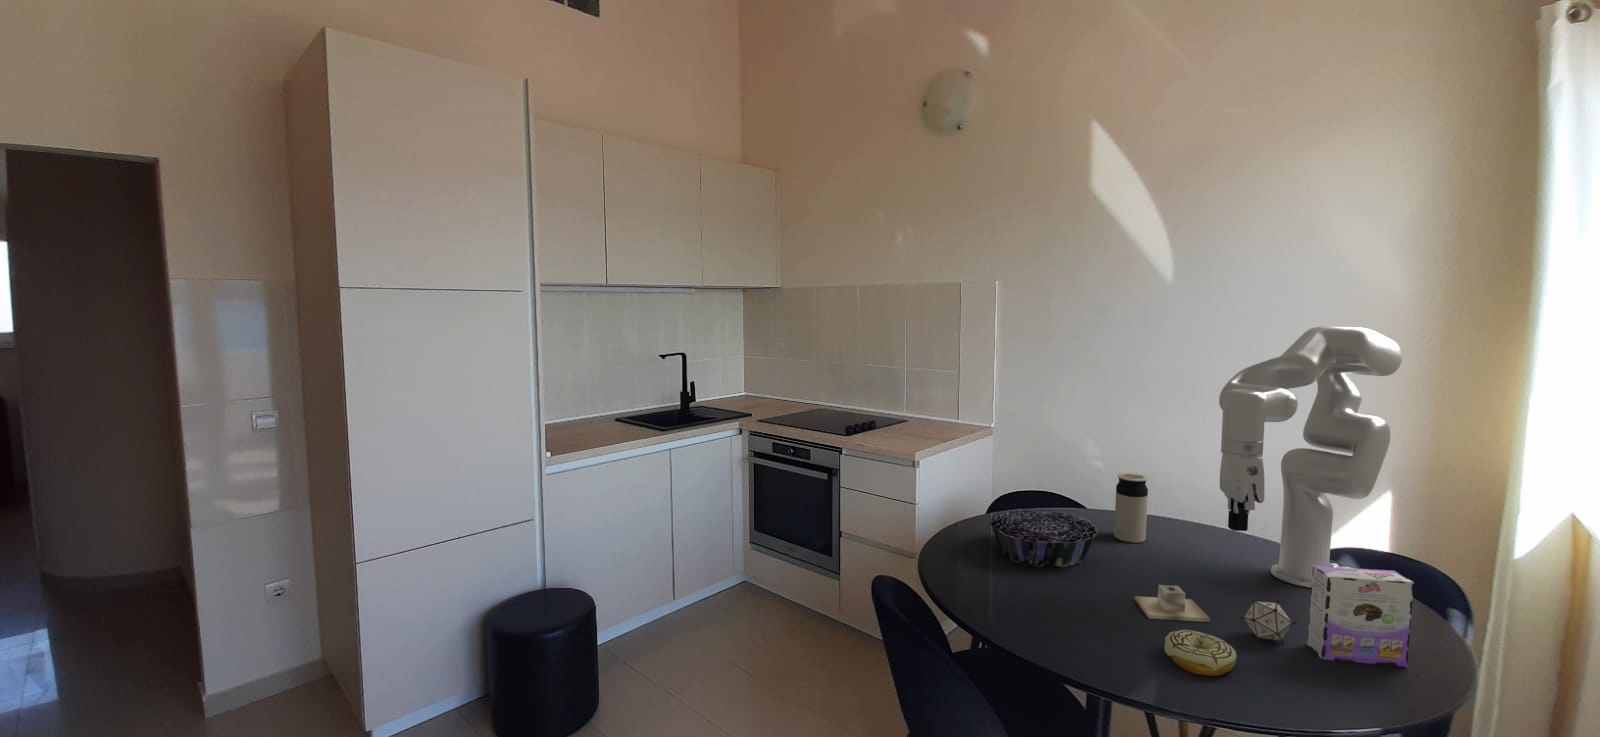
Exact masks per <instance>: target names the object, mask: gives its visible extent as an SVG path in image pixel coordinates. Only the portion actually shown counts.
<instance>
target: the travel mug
mask: <svg viewBox="0 0 1600 737" xmlns="http://www.w3.org/2000/svg"><path fill="white" fill-rule="evenodd" d="M1117 477H1118V483H1117V484H1116V485H1115V505H1114V506H1115V507H1114V508H1115V509H1114V528H1113V529H1114V530H1113V531H1114V532H1113V536H1114V537H1115V538H1116V539H1118V540H1119V541H1122V542H1125V543H1131V544H1133V543H1134V544H1140V543H1143V542H1146V538H1147V537H1146V536H1147V516H1148V515H1147V514H1148V493H1149V488H1148V487H1147V485H1146V483H1147V481H1148V477H1147V476H1146V475H1144V474H1139V473H1133V472H1132V473H1131V472H1122V473H1119V474H1117Z"/></svg>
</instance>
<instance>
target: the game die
mask: <svg viewBox="0 0 1600 737" xmlns="http://www.w3.org/2000/svg"><path fill="white" fill-rule="evenodd" d="M1250 600H1251V602H1252V603H1251V605H1250V607H1248V610H1247V611H1246V613H1245V615H1244V616H1239V617H1238V618H1239V619H1240V620H1244V621H1245V622H1246V625H1247V626H1249V628H1250V630H1251V631H1252V632H1253V634H1254V635H1255V639H1254V640H1255V642H1256V643H1257V642H1259V639H1262V640H1275V641H1280V642H1281V643H1282V644H1284V645H1286V641H1285V640H1284V638H1285V637H1286V635H1287V634H1288V631H1290V629H1291V627H1292V625H1295V626H1296V625H1299V623H1298V622H1297V621H1292V619H1291V618H1290V617H1289V615H1287V613H1286V612H1285V610H1284V609H1283V608H1282V606H1281V605H1280V603H1281V600H1280V599H1277V600H1276V602H1272V601H1270V602H1269V601H1258V600H1257V601H1256V600H1255V599H1254V598H1253V597H1250Z"/></svg>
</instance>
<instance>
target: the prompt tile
mask: <svg viewBox="0 0 1600 737" xmlns="http://www.w3.org/2000/svg"><path fill="white" fill-rule="evenodd" d="M1133 599H1134V601H1135V603H1137V605H1138V607H1139V608H1140V609H1141V611H1143V613H1144V614H1145V615H1146V617H1147V618H1148V619H1152V620H1153V619H1154V620H1165V621H1168V620H1169V621H1183V622H1185V621H1187V622H1203V623H1211V617H1209V616H1208V615H1207V613H1205V611H1203V609H1202V608H1201V607H1200V606H1199V605H1198V604H1197V603H1196V602H1195V601H1194V600H1193V599H1192V598H1186V592H1185V591H1184V590H1183V589H1181V587H1180V586H1179V585H1171V584H1169V585H1166V584H1158V590H1157V597H1154V596H1150V597H1149V596H1140V595H1139V596H1138V595H1136V596H1134V598H1133Z"/></svg>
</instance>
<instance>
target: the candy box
mask: <svg viewBox="0 0 1600 737" xmlns="http://www.w3.org/2000/svg"><path fill="white" fill-rule="evenodd" d="M1343 567H1344V566H1343ZM1343 567H1340V566H1339V567H1328V566H1314V565H1313V574H1312V587H1311V588H1310V589H1311V590H1310V601H1309V613H1308V615H1309V616H1308V628H1307V629H1308V630H1307V638H1306V641H1307V643H1306V645H1307V646H1308V647H1309V648H1310V649H1311V650H1312V651H1313V652H1314V653H1315V654H1316V655H1317V656H1318V657H1319V658H1320V659H1321V660H1326V661H1337V662H1346V663H1347V662H1349V663H1359V664H1369V665H1370V664H1371V665H1382V666H1393V667H1404V668H1405V667H1406V668H1408V664H1409V651H1410V636H1411V625H1412V624H1411V623H1412V609H1413V597H1414V587H1415V586H1414V584H1415V582H1414V581H1413V580H1410V579H1409V578H1408V577H1406V576H1404V575H1402V574H1400V573H1399V572H1397V571H1396V570H1390V569H1389V570H1385V569H1373V568H1370V569H1369V568H1356V567H1350V568H1343Z"/></svg>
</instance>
